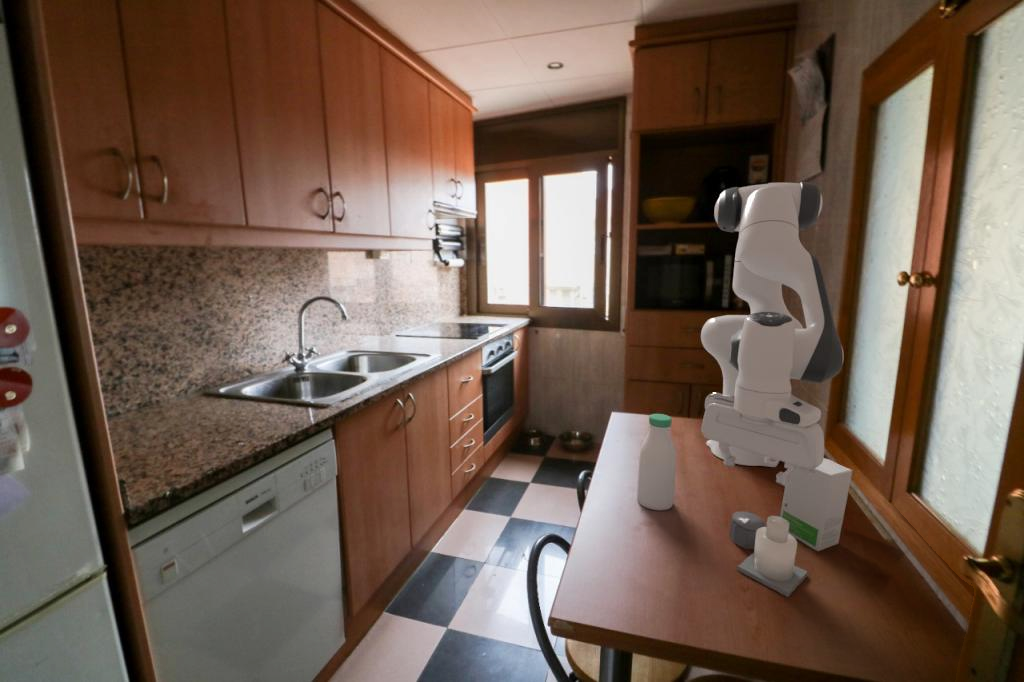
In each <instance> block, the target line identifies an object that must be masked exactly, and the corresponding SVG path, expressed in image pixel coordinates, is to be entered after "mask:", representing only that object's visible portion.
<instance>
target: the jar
mask: <svg viewBox="0 0 1024 682" xmlns="http://www.w3.org/2000/svg"><path fill="white" fill-rule="evenodd" d="M788 531H789V522H788V521H787V520H785V519H784V518H781V517H780V516H777V515H769V516H768V517H767V519H766V525H765V527H761V528H759V529H757V531H756V539H755V548H754V549H753V550H754V551H753V553H750V555H748V557H747V558H745V559H744V560H743V561H742V562H741V563H740V564H739V565H738V566H737V571H738V572H740V573H742V574H744V575H746V577H749V578H751V579H753V580H755V581H757V582H759V583H761V584H762V585H764V586H766V587H768V588H770V589H772V590H774V591H776V592H777V593H780V594H781V595H783V596H785V597H787V598H789V597H790V596H791V595H792V594H793V592H795V590H796V589H797V588H798V587H799V586H800V585H801V583H802V582H803V581H804V580H805V579H806V578H807V577H808V571H807V570H805V569H803V568H800V567H799V566H797V565H795V564H796V563H795V562H796V555H797V548H798V541H797V539H796V538H794V537H793V536H792V535H790V534H789V533H788ZM797 586H798V587H797ZM796 587H797V588H796ZM795 588H796V589H795Z"/></svg>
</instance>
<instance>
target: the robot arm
mask: <svg viewBox="0 0 1024 682" xmlns="http://www.w3.org/2000/svg"><path fill="white" fill-rule="evenodd" d="M823 201H824V199H823V195H822V193H821V188H820V187H819V186H818V184H816V183H813V182H808V181H807V182H806V181H800V182H799V183H798V182H768V183H763V184H755V185H747V186H742V187H738V186H734V187H730V188H727V189H724V190H723V191H722V192H721V193H720V194H719V197H718V199H717V200H716V202H715V205H714V213H713V214H714V215H713V216H714V220H715V222H716V224H717V227H718V228H719V229H720V230H721V231H724V232H729V233H735V232H738V239H737V243H736V248H735V255H734V256H735V257H734V265H733V266H734V267H733V275H732V276H733V277H732V291H733V292H734V294H735V296H737V297H738V298H740V299H741V300H742V301H745V302H746V303H748V306H749V309H750V314H748V315H747V314H726V315H721V316H716V317H711V318H709V319H707V320H706V322H705V323H704V324H703V326H702V328H701V331H700V332H701V333H700V340H701V344H702V346H703V348H704V349H705V350H706V351H707V352H708V353H709V354H710V355H711V356H712V357H713V358H714V359H715V360H716V361H717V363H718V365H719V367H720V369H721V373H722V378H723V379H722V382H723V383H722V384H723V385H722V393H720V392H712V393H709V394H708V395H707V396H706V397H705V400H704V409H705V411H704V415H703V419H702V424H701V429H700V431H701V434H702V435H703V437H704V438H706V439H708V440H706V446H707V447H709V448H710V450H711V451H710V452H711V453H712V454H713V456H715V457H718V458H719V459H722V461H723V466H725V467H729V468H733V467H735V464H737V465H740V466H748V467H749V466H750V467H751V466H752V467H756V466H760V467H761V466H763V467H770V468H776V467H778V464H779V463H780V461H781V462H783V463H784V468H785V469H786V470H785V471H778V473H776V476H775V478H776V480H775V484H778V485H781V486H783V487H785V486H786V485H787V484H788V482H789V475H790V474H791V473H792V472H793V471H794V470H795V469H796V468H797V467H798V466H799V467H802V468H806V469H809V470H812V469H814V468H816V467H818V466H819V465H821V464H822V462H823V458H825V457H824V456H825V436H824V430H823V429H822V427H821V425H820V424H819V423H818V421H820V419H821V416H822V411H821V409H820V408H819V407H817V406H814V405H812V404H810V403H808V402H806V401H804V400H802V399H801V398H798V397H797V396H794V395H793V394H792V384H791V379H792V380H799V381H804V382H807V383H808V382H810V383H814V384H822V383H824V382H827V381H829V380H831V379H832V378H834V377H836V376H837V375H839V373H841V371H842V369H843V364H844V357H845V356H844V349H843V345H842V343H841V338H840V336H839V333H838V330H837V328H836V323H835V321H834V316H833V312H832V311H833V310H832V308H831V302H830V297H829V293H828V290H827V285H826V280H825V277H824V274H823V270H822V267H821V263H820V261H819V259H818V257H817V256H816V255H814V254H813V253H810V252H809V251H808V250H807V249H805V247H804V245H803V244H802V243H801V241H800V236H799V233H800V231H803V230H807V229H808V228H810V227H811V226H812V225H814V224H815V223H816V222H817V219H818V217H819V216H820V214H821V212H822V209H823V203H824V202H823ZM782 285H784V286H786V287H789V288H790V289H792V290H794V291H795V292H796V293H797V294H798V296H799V298H800V301H801V306H802V312H803V315H804V322H805V326H806V328H804V327H803V324H802V323H801V322H800V321H799V320H798V319H797V318H795V317H794V316H793V314H791V312H790V311H789V310H788V308H787V305H786V304H785V302H784V297H783V290H782V287H783V286H782Z"/></svg>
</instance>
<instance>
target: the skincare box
mask: <svg viewBox="0 0 1024 682" xmlns="http://www.w3.org/2000/svg"><path fill="white" fill-rule="evenodd" d="M852 475H853V469H851V468H848V467H846V466H843V465H841V464H838V463H836V462H835V461H833V460H831V459H828V458H825V457H824V458H823V462H822V464H821V465H819V466H818V467H816V468H814V469H812V470H809V469H806V468H802V467H799V466H798V467H797V468H796V469H795V470H794V471H793V472H792V473H791V474H790V475H789V482H788V484H787V485H786V486H784V493H783V499H782V504H781V510H780V516H779V517H781V518H784V519H785V520H787V521H788V522H789V531H788V533H789V534H790V535H792V536H793V537H794V538H795V539H796V540H798V541H800V542H802V543H803V544H804V545H806V546H808V547H810V548H811V549H813V550H815V551H817V552H821V551H823V550H825V549H829V548H831V547H833V546H836V545H838V544H839V541H840V538H841V537H840V536H841V531H842V525H843V522H844V517H845V511H846V505H847V501H848V496H849V491H850V485H851V480H852Z"/></svg>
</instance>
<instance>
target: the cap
mask: <svg viewBox="0 0 1024 682" xmlns="http://www.w3.org/2000/svg"><path fill="white" fill-rule="evenodd" d="M731 517H732V518H730V525H729V527H730V528H729V534H728V535H729V539H731V541H732V542H733V544H735V545H737V546H739V547H741V548H743V549H746V550H754V548H755V539H756V531H757V529H759V528H761V527H766V521H765V520H764V519H763V518H762V517H761V516H759V515H757V514H755V513H752V512H749V511H735V512H734V513H733V514H732V516H731Z"/></svg>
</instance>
